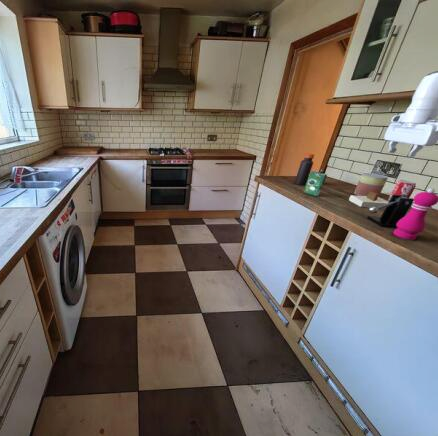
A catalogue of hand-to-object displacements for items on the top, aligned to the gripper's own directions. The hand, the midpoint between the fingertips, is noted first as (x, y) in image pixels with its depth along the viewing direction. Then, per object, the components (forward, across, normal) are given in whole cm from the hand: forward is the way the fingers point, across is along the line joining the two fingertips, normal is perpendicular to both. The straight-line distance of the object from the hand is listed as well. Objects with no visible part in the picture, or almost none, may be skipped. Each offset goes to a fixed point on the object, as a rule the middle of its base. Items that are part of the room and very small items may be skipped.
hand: (400, 154), depth 95 cm
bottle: (+29, +52, +9) cm, 60 cm away
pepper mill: (+29, -18, -1) cm, 34 cm away
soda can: (+29, +22, -27) cm, 46 cm away
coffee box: (+29, +30, +12) cm, 44 cm away
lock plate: (+29, +19, -12) cm, 37 cm away
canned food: (+29, +37, -22) cm, 52 cm away
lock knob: (+26, +19, -12) cm, 34 cm away
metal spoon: (+22, -6, -1) cm, 23 cm away
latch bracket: (+29, -6, -4) cm, 30 cm away
